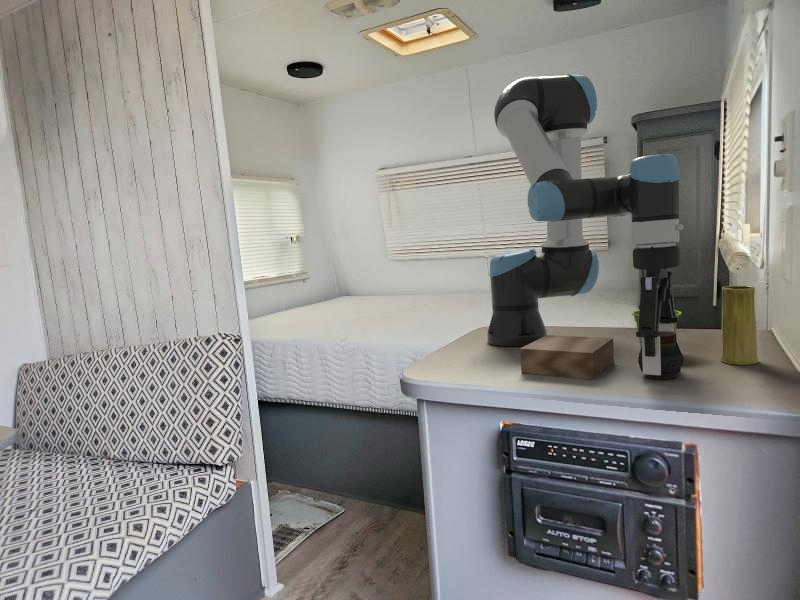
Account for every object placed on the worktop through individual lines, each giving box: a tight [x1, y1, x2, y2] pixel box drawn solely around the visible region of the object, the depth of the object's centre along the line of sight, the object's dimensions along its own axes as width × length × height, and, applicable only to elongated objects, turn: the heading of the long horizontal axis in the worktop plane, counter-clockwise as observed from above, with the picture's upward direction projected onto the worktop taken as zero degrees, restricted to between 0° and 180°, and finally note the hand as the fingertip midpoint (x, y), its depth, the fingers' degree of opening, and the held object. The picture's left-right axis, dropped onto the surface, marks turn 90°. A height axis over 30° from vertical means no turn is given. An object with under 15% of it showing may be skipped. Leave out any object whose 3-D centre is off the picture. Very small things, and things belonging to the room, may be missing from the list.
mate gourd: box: [637, 331, 684, 380], centre depth 94 cm, size 7×8×10 cm
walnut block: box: [519, 334, 615, 380], centre depth 105 cm, size 14×14×5 cm
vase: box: [719, 285, 759, 366], centre depth 99 cm, size 6×6×14 cm
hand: (659, 365), depth 94 cm, fingers open, 12 cm apart
